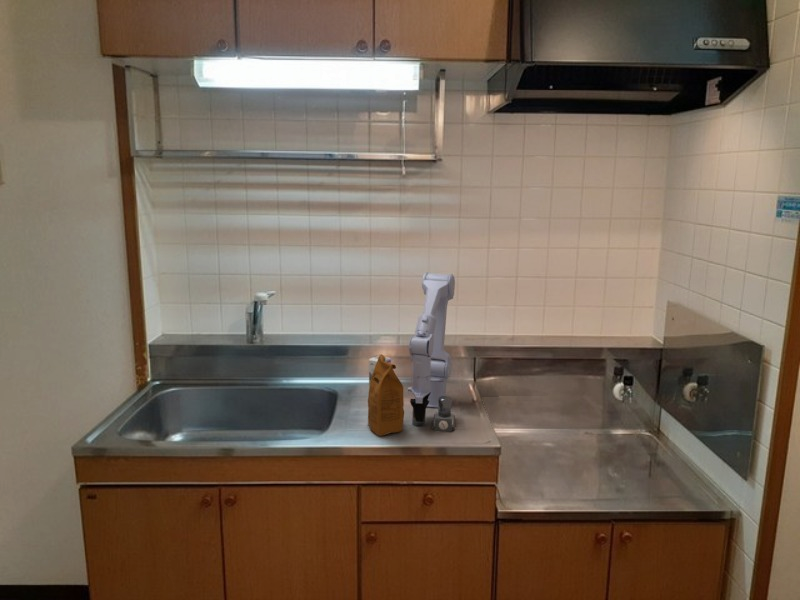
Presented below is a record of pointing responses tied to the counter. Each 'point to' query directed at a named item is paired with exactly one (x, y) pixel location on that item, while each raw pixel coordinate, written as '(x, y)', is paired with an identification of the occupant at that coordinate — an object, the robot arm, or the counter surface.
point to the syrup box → (373, 363)
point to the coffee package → (385, 399)
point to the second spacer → (418, 424)
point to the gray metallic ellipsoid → (444, 406)
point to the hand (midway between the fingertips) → (420, 416)
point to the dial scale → (444, 423)
